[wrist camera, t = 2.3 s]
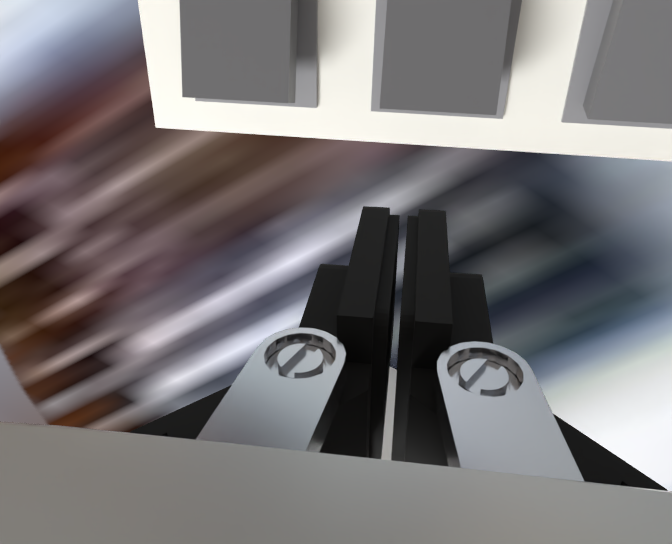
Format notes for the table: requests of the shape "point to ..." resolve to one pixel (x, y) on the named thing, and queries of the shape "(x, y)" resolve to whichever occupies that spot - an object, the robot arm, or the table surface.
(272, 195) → the table surface
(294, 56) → the left rocker
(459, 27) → the middle rocker
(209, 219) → the table surface
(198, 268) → the table surface
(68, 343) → the table surface
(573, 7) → the rocker switch panel
